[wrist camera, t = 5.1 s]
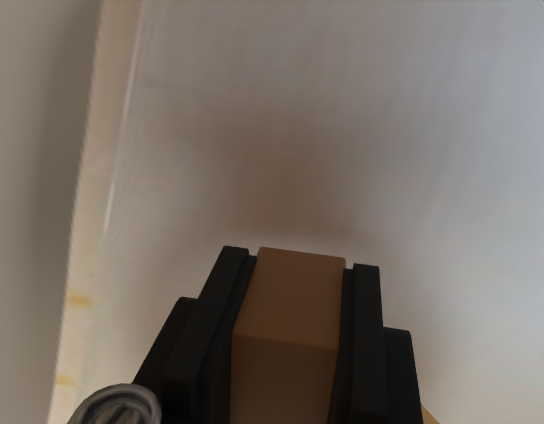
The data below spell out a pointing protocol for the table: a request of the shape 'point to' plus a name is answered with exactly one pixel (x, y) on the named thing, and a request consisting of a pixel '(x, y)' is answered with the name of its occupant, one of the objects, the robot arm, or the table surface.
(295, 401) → the ring
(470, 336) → the table surface
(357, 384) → the robot arm
